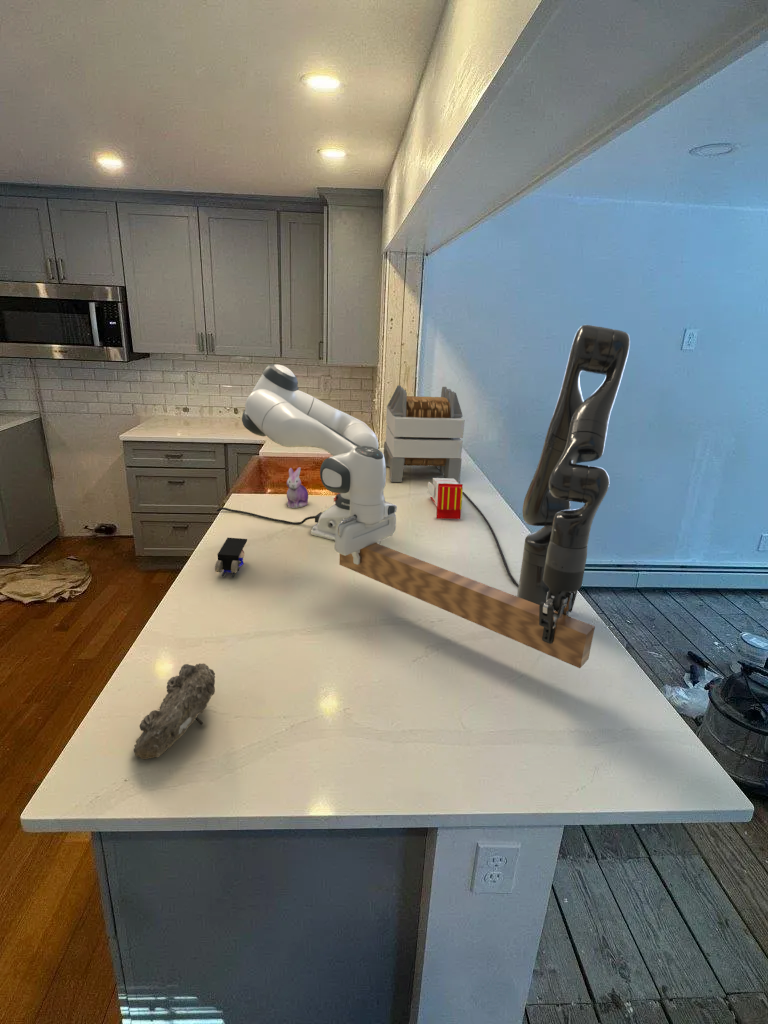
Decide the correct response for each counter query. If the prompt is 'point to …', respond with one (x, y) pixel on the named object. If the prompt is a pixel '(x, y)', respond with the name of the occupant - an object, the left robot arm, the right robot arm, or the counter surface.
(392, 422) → the transformer
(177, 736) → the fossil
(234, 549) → the figurine character
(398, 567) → the post
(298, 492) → the figurine
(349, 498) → the left robot arm
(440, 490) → the toy
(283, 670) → the counter surface
